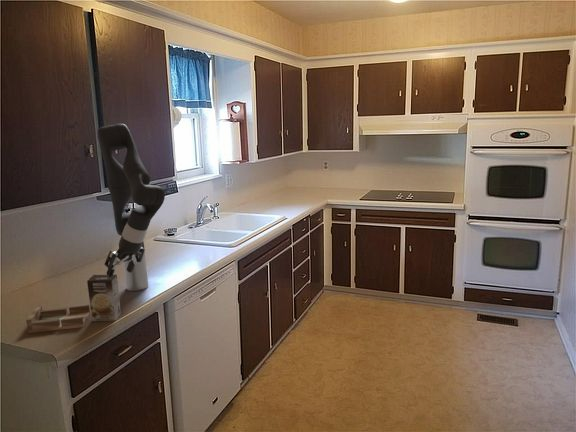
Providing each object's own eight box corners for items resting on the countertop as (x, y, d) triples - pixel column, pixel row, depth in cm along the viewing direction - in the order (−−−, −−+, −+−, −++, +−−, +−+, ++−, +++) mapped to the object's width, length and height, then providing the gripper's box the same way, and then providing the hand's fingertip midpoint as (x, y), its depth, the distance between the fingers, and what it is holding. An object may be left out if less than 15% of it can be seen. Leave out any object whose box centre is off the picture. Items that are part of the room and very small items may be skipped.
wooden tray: (39, 318, 166) (37, 306, 165) (90, 313, 170) (88, 300, 169) (28, 333, 155) (26, 320, 154) (83, 326, 159) (81, 314, 158)
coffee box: (91, 321, 163) (85, 280, 159) (97, 314, 169) (92, 274, 165) (116, 320, 163) (111, 279, 159) (121, 313, 169) (117, 273, 166)
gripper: (142, 228, 161) (128, 264, 166) (109, 232, 148) (95, 271, 154) (155, 239, 158) (141, 275, 163) (123, 245, 146) (108, 284, 151)
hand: (119, 273), depth 158 cm, fingers open, 8 cm apart
